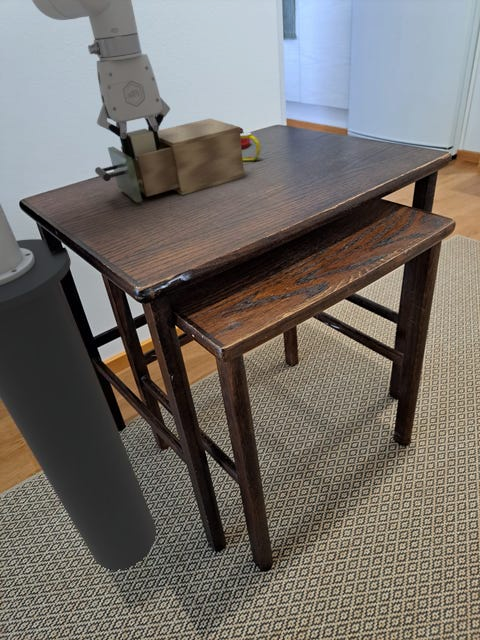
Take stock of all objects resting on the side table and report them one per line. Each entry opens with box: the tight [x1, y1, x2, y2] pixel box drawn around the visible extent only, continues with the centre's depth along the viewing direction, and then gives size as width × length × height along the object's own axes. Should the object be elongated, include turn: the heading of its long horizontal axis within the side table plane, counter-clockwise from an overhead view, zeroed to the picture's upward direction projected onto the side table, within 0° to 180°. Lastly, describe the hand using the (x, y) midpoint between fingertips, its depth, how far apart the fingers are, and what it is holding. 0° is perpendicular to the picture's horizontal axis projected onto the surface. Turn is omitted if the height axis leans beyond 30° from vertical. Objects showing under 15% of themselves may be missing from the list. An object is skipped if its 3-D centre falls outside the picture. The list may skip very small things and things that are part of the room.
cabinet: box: [157, 118, 245, 196], centre depth 95 cm, size 15×13×10 cm
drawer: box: [94, 141, 179, 203], centre depth 90 cm, size 18×12×8 cm
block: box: [127, 128, 157, 160], centre depth 88 cm, size 4×4×4 cm
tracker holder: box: [231, 123, 251, 149], centre depth 117 cm, size 12×4×10 cm
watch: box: [240, 131, 261, 162], centre depth 103 cm, size 6×3×6 cm, turn 64°
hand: (143, 153), depth 89 cm, fingers closed on block, 4 cm apart
